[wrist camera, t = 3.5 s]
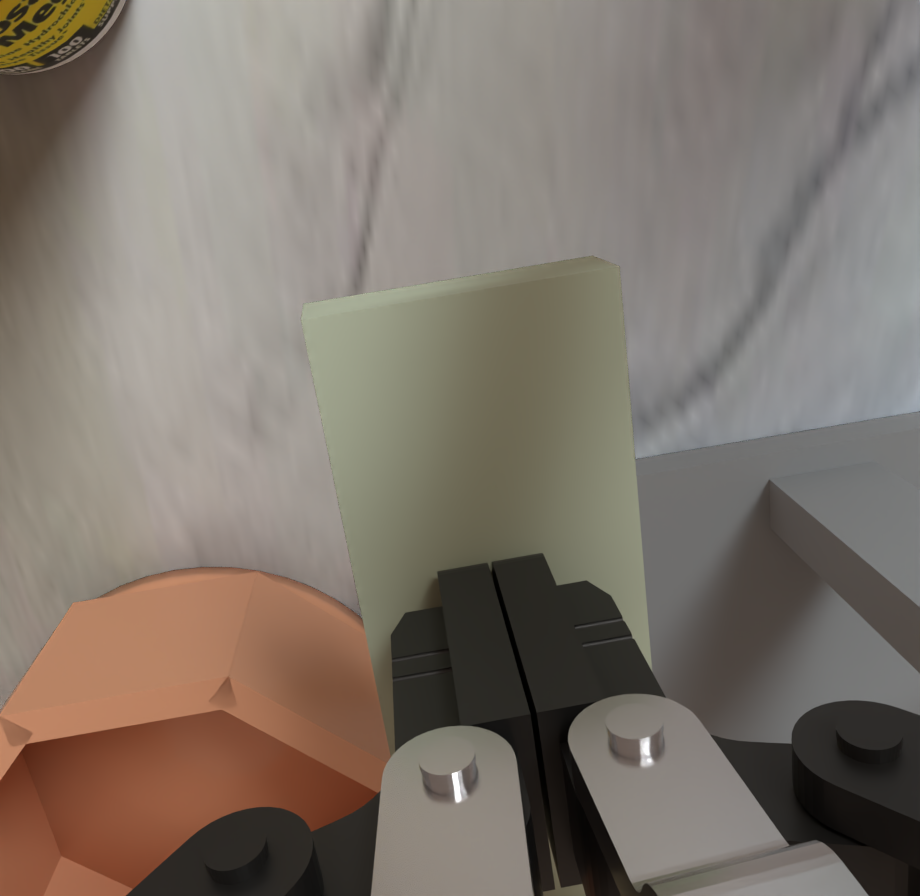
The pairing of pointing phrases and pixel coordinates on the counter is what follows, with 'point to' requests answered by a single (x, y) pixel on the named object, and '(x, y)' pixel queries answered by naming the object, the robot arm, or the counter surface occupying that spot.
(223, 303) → the counter surface
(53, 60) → the pill bottle
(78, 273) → the counter surface
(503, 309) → the chute
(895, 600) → the chute stand
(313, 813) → the orange octagonal bowl
